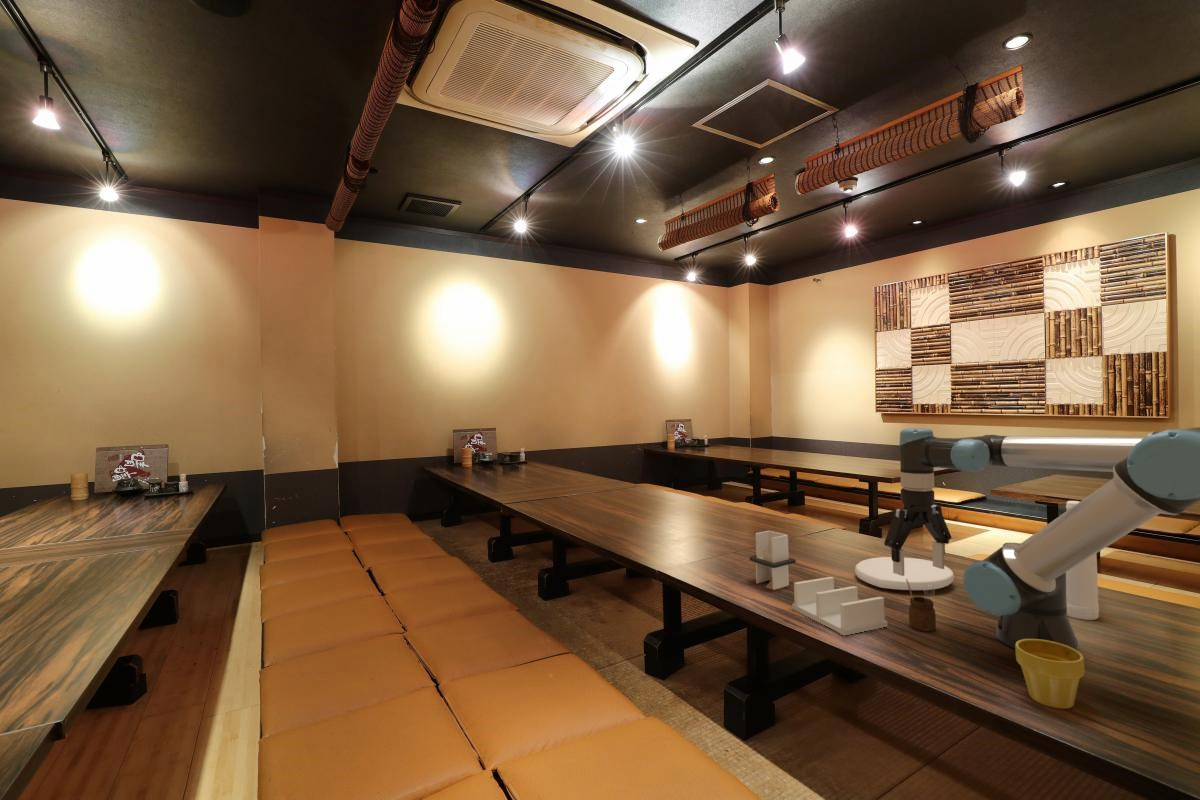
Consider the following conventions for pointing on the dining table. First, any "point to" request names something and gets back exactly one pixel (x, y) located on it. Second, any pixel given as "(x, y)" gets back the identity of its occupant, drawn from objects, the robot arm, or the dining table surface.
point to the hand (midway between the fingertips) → (918, 570)
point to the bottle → (1082, 587)
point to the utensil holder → (922, 612)
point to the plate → (914, 571)
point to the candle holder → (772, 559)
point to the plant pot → (1050, 671)
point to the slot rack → (838, 606)
